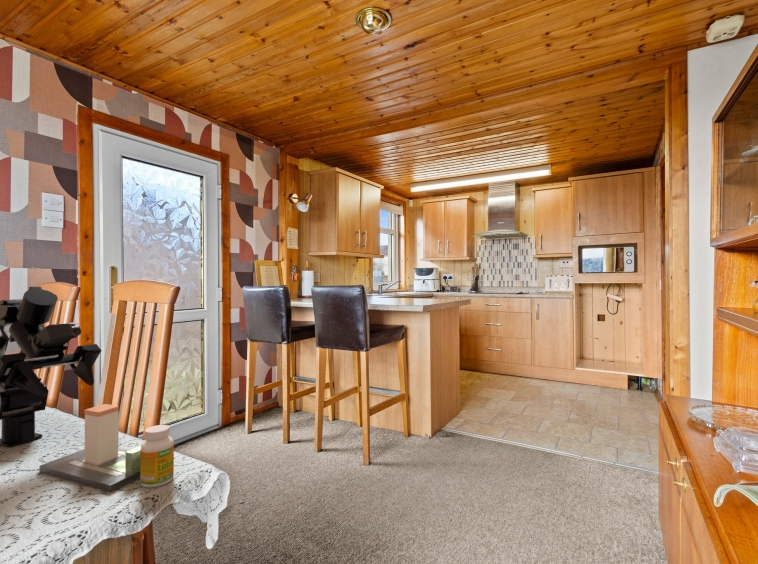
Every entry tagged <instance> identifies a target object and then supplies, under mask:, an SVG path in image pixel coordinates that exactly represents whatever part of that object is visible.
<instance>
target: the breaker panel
mask: <svg viewBox="0 0 758 564" xmlns="http://www.w3.org/2000/svg"><path fill="white" fill-rule="evenodd" d="M140 450H141V445H139V446H137V447H134V448H132V449H130V450H125V449H120V448H118V456H117V457H114V458H112V459H109V460H107V461H105V462H102V463H100V464H96V463H92V462H88V461H85V448H84V449H81V450H78V451H75V452H72V453H70V454H67V455H64V456H62V457H59V458H57V459H54V460H51V461H48V462H46V463H42V464H40V465H39V473H42V474H45V475H49V476H52V477H56V478H60V479H63V480H65V481H68V482H73V483H76V484H80V485H84V486H87V487H91V488H94V489H97V490H100V491H102V492H103V491H104V492H108V493H112V492H114V491H116V490H118V489H120V488H123V487H124V486H126V485H128V484H131V483H132V482H135V481H136V480H139V479H140Z"/></svg>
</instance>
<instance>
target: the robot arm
mask: <svg viewBox="0 0 758 564" xmlns="http://www.w3.org/2000/svg"><path fill="white" fill-rule="evenodd" d="M57 302H58V296H57V294H55V293H53V292H52V291H49V290H46V289H43V288H42V286H29V287H28V290H26V291H25V292H24V293H23V295H22V298H19V299H18V298H17V299H1V300H0V333H1V334H0V421H1V437H0V445H1V446H4V447H8V448H10V447H14V446H17V445H20V444H23V443H24V444H25V443H27V442H30V441H33V440H36V439H40V438H42V437H43V434H41V433H38V432H36V418H35V417H36V412H40V411H45V410H46V408H47V407H46V406H47V402H48V396H49V388H48V386H47V385H46V384H44V382H43V381H42V378H40V377H39V376H38V374H37V373H36V372H34V370H39V369H47V368H48V369H49V368H53V367H58V366H59V367H60V366H65V365H69V366H70V367H71V369H72V370H73V373H74V374H75V375H76V376H77V377H78V378H79V379H80V380H82V381H83V383H85V384H86V385H87V386H90V387H92V386H94V383H95V381H94V374H93V373H94V372H93V366H94V364H95V363H96V361H97V360H98V357H99V356H100V354H101V352H102V349H101V348H100V346H99V345H98V344H97V343H91V344H84V345H83V344H82V345H78V346H77V347H76V348H75V350H74V351H73V353H67V354H65V353H64V351H67V349H68V348H69V345H68V342H70V341H71V340H72V339H76V338H77V337H79V336H80V335H81V334H82V329H81V327H80V325H79V324H78V323H77V322H67V323H54V324H49V325H46V326H45V325H44V324H46V323H49V322H50V320H51V318H52V315H53V313H54V310H55V308H56V305H57ZM7 326H9V328H8V333H9V335H8V333H7V332H6V329H5V327H7ZM9 343H16V344H17V346H18V347H19V349H20V351H19V352H18V353H11V354H10V353H9V354H8V353H7V354H5V353H6V351H7V348H8V345H9Z"/></svg>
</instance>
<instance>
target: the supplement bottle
mask: <svg viewBox="0 0 758 564" xmlns="http://www.w3.org/2000/svg"><path fill="white" fill-rule="evenodd" d="M144 439H145V440H144V441H142V443H141V445H140V446H141V450H140V478H139V479H140V481H139V482H140V483H139V484H140V485H141V486H142V487H143V488H158V487H162V486H164V485H166V484H168V483H169V482H171V481H172V480H173V478H174V471H175V469H174V465H175V464H174V462H175V460H174V456H175V455H174V454H175V450H174V449H175V448H174V447H175V445H174V444H175V442H174V439H173V437H171V436H170V426H169V425H168V424H158V425H153V426H150V427H147V428H146V429H145V430H144Z"/></svg>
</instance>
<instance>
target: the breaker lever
mask: <svg viewBox="0 0 758 564" xmlns="http://www.w3.org/2000/svg"><path fill="white" fill-rule="evenodd" d="M119 411H120V406H118V405H114V404H108V403H103V404H100V405H97V406H94V407H93V406H92V407H90V408H86V409H84V449H85V461H88V462H92V463H96V464H100V463H102V462H105V461H107V460H109V459H112V458H114V457H117V456H118V449H119Z"/></svg>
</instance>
